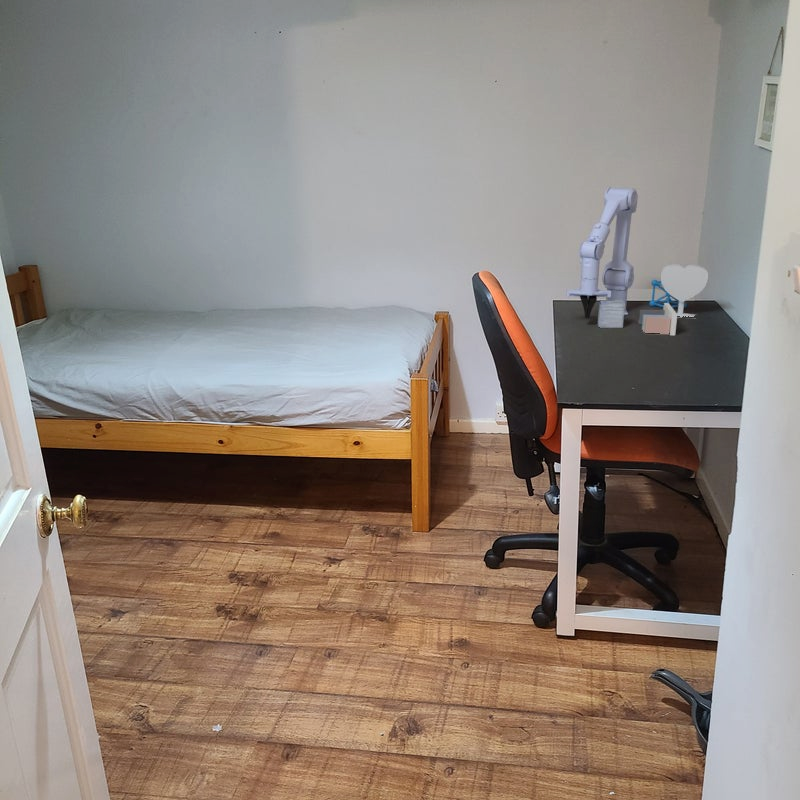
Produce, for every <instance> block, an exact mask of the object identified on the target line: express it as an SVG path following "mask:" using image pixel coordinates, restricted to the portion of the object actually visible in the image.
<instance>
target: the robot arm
mask: <svg viewBox="0 0 800 800" xmlns="http://www.w3.org/2000/svg"><path fill="white" fill-rule="evenodd" d="M638 198H639V196H638V192H637V189H636V188H627V187H626V188H624V187H623V188H621V187H611V186H609V187H608V188H607V189H606V190H605V192H604V194H603V204H604V208H603V211H602V213H601V216H600V218H599V222H597V223H594V225H593V227H592V229H591V230H590V233H589V235H588V237H587V239H586V240H585V241H584V242H582V243H581V244H580V245H579V250H578V254H579V259H580V261H579V262H580V264H581V271H580V286H579V288H580V289H566V294H565V296H566V297H567V298H569V297H579V298H580V302H581V303H582V307H583V311H584V319H590V317H591V313H592V310H593V308H594V306H595V304H596V303H597V300H598V297H599V298H601V297H603V298H605V300H622V301H623V302H624V303H625V307H624V316H625V315H626V316H628V315H629V313H628V311H627V301H628V289H630V288H631V287H632V286H633V284H634V280H635V275H634V266H633V265H632V264H631V263H630V261H628V260H627V258H628V249H629V243H630V242H629V239H630V234H631V232H630V231H631V223H632V214H634V213H636V212H637V208H638V206H637V205H638ZM615 217H616V220H615V230H614V238H613V239H614V240H613V248H612V256H611V257H612V258H611V259H612V260H611V261H609V262H607V263H606V264H605V265H604V269H603V271H602V272H603V273H602V276H601V279H602V280H601V282H602V284H603V286H604V288H606V289H605V290H604V289H599V275H600V274H599V273H600V262H601V261H600V260H601V259H602V258H603V256H604V252H605V246H606V245H605V244H606V241H607V240H608V237H609V234H610V233H611V228H610V226H611V224H612V222H613V220H614V218H615Z"/></svg>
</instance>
